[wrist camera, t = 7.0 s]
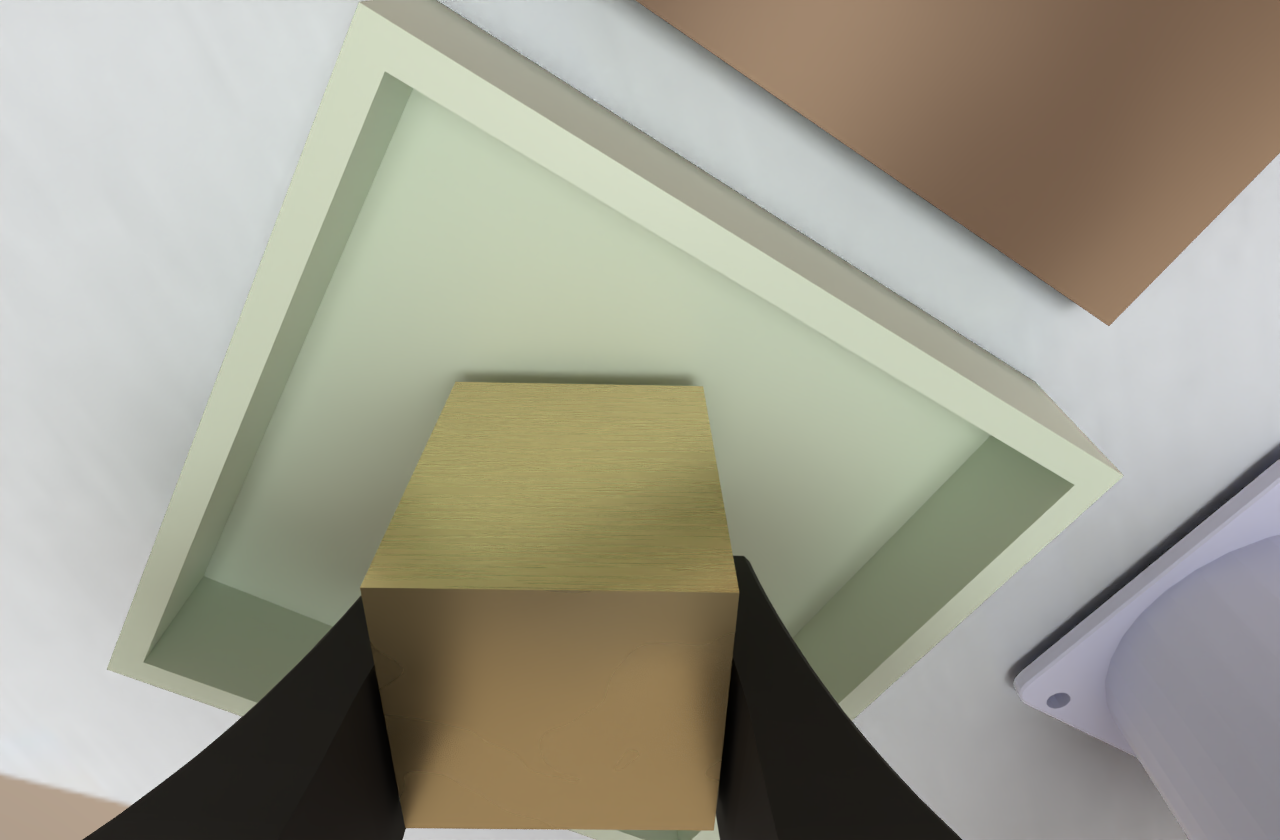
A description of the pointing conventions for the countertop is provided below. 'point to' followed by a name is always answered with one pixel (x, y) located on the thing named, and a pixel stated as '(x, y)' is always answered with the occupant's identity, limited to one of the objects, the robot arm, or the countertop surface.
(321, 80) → the countertop surface
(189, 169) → the countertop surface
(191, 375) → the countertop surface
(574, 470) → the block
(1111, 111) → the crank plate
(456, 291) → the tray
